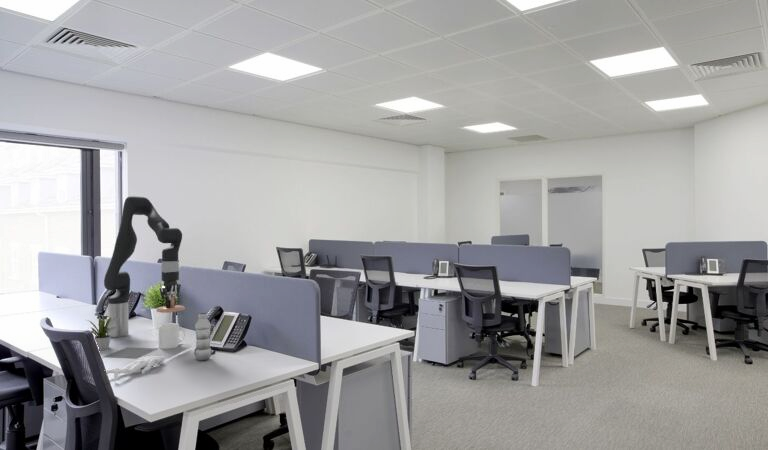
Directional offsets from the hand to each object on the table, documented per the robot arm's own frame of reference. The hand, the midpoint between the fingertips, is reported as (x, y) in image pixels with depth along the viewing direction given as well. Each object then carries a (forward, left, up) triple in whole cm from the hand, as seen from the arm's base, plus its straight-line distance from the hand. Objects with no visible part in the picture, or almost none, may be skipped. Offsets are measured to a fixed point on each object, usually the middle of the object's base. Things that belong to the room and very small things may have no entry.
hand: (170, 306), depth 225 cm
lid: (0, 0, -2) cm, 2 cm away
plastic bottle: (+25, -16, -19) cm, 36 cm away
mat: (-11, -13, -19) cm, 26 cm away
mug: (0, +1, -19) cm, 19 cm away
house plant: (-28, -8, -19) cm, 35 cm away
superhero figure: (+8, -35, -20) cm, 41 cm away
